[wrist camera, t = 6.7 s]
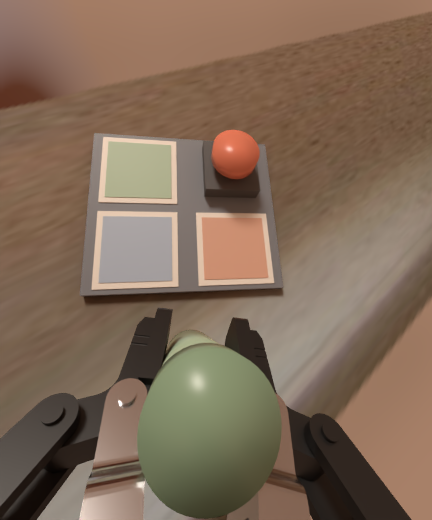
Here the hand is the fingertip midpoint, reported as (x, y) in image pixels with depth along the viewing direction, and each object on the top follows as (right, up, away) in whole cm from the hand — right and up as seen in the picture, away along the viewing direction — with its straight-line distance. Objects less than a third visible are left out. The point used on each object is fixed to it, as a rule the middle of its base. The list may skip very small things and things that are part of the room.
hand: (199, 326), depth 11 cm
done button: (+2, +14, +14) cm, 20 cm away
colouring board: (-3, +9, +14) cm, 16 cm away
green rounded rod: (-1, -3, +3) cm, 5 cm away
